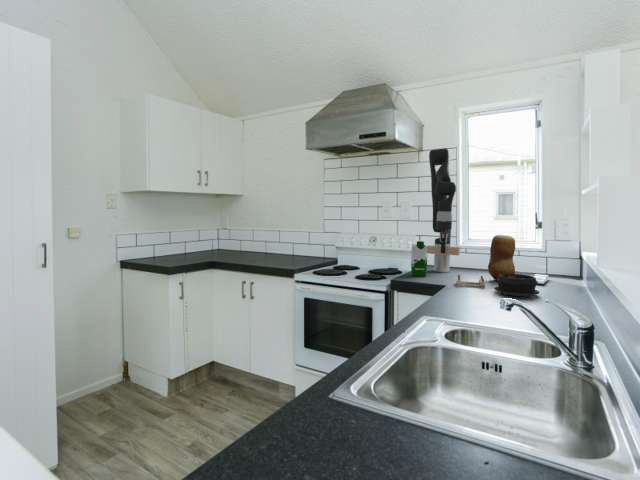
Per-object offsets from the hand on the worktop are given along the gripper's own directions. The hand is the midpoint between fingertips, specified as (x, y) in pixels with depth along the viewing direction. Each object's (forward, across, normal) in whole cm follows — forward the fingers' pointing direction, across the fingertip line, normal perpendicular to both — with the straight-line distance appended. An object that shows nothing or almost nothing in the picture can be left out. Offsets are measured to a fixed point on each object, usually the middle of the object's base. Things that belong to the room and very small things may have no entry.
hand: (443, 252), depth 209 cm
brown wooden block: (+1, 0, 0) cm, 1 cm away
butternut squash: (+16, -15, +29) cm, 36 cm away
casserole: (+16, +19, +33) cm, 42 cm away
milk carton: (+16, -16, -14) cm, 26 cm away
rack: (+16, +5, +14) cm, 21 cm away
